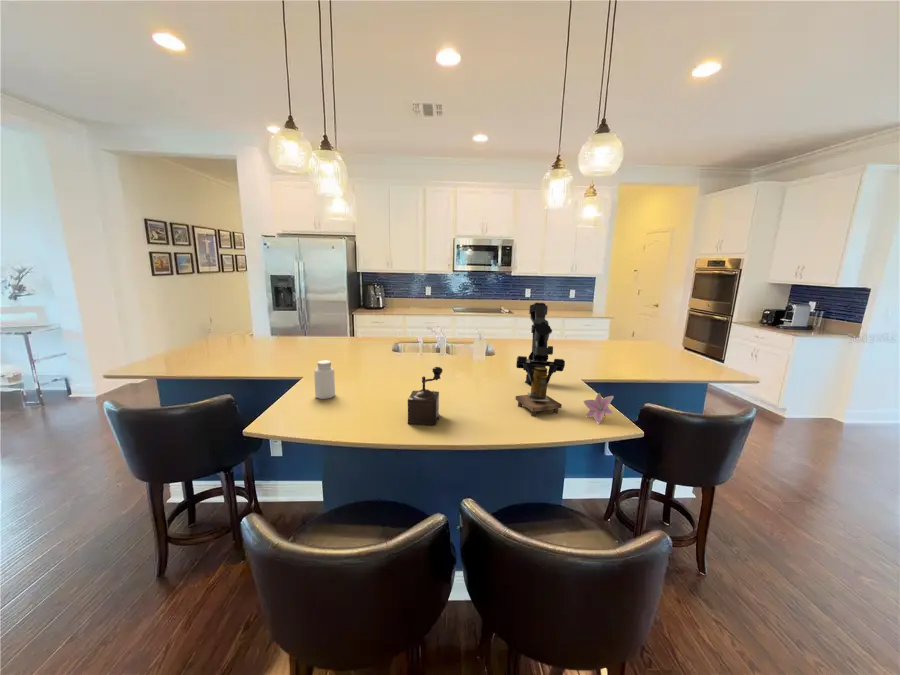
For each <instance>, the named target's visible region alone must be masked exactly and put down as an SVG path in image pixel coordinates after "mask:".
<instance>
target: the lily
mask: <svg viewBox="0 0 900 675" xmlns="http://www.w3.org/2000/svg"><path fill="white" fill-rule="evenodd" d="M614 397H615V396H614V395H610V396H609V395H608V396H606V397H602V395H601V392H598V393H597V394H596V396H595V399H586V400H583V403H584V405H585V406H586V407H587V409H588V411H587V413H586V415H585V417H586V416H587V418H590V417H593V418H594V421H595V422H598V423H600V424H601V422H602V419H603V417H604V416H605V417H606V415H614V412H613V411H612V409H611V408H610V407H609V405H610V404H611V402H612V400H613V399H614Z"/></svg>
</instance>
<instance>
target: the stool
mask: <svg viewBox="0 0 900 675" xmlns="http://www.w3.org/2000/svg"><path fill="white" fill-rule="evenodd" d="M546 396H547V397H548V399H549V400H550V401H533V400H531V399H530V397H529V395H528V394H522V395H515V398H514V400H516V401H517V407H519V408H523V406H524V407H526V408H527V409H528V410H529V411H530V417H532V418H534V417H535V418H536V416H537V412H541V411H548V410H552V413H553V414H554V413H557V414H558V412H559V409H562V407H563V406H562V403H560V402H559V401H556V400H555V399H554V398H552V397H551V396H549V395H547V394H546Z"/></svg>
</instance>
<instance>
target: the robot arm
mask: <svg viewBox="0 0 900 675" xmlns="http://www.w3.org/2000/svg"><path fill="white" fill-rule="evenodd" d="M548 308H549V307H548V305H546V303H544V302H534V303H533V304H530V305H529V309H528V310H529V312H528V315H530V317H529V318H530V320H531V322H532V324H531V328H530V329H531V332H530V333H531V334H532V338H531V339H532V341H531V342H532V344H531V352H530V353H529V355H528V356H524V355H523V356H522V355H518V356H517V357H516V364H515V365H516V368H517V369H522V370H523V371H525V373H526V375H525V376H526V377H525V380H524V383H526V384H527V385H529V386H530V387H531V384H532V374H533V373H534V372H533V371H534V367H537V366H541V367H545V368H547V367H548V370H547V375H548V378H547V385H548V384H549V382H550V380H551V377H552V376H553V374H555V373H557V372H563V371H564V368H565V366H566V365H565V364H566V362H565V359H563V358H554V359H553V361H549V355H550V356H552V355H554V346H552V345H548V341H549V338H550V335H551V334H552V333H553V329H552V327H551V325H550V324H549V321H548V319H546V316H547V315H548V311H549V310H548Z"/></svg>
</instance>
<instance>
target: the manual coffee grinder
mask: <svg viewBox="0 0 900 675" xmlns="http://www.w3.org/2000/svg"><path fill="white" fill-rule="evenodd" d="M432 373H433V378H427V379H426V376H421V382H422V389H420V390H412V392H411V394H410V396H409V397H408V398H407V424H408V425H414V426H431V427H436V426H437V424H438V422H439V420H440V414H439V410H440V409H439V408H440V404H439V403H440V402H439V401H440V391H436V390H435V391H434V390H429V389H426V383H427V382H432V381H438V380H441V374H442V373H443V369H442V367H440V366H434V367H433V368H432Z"/></svg>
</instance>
